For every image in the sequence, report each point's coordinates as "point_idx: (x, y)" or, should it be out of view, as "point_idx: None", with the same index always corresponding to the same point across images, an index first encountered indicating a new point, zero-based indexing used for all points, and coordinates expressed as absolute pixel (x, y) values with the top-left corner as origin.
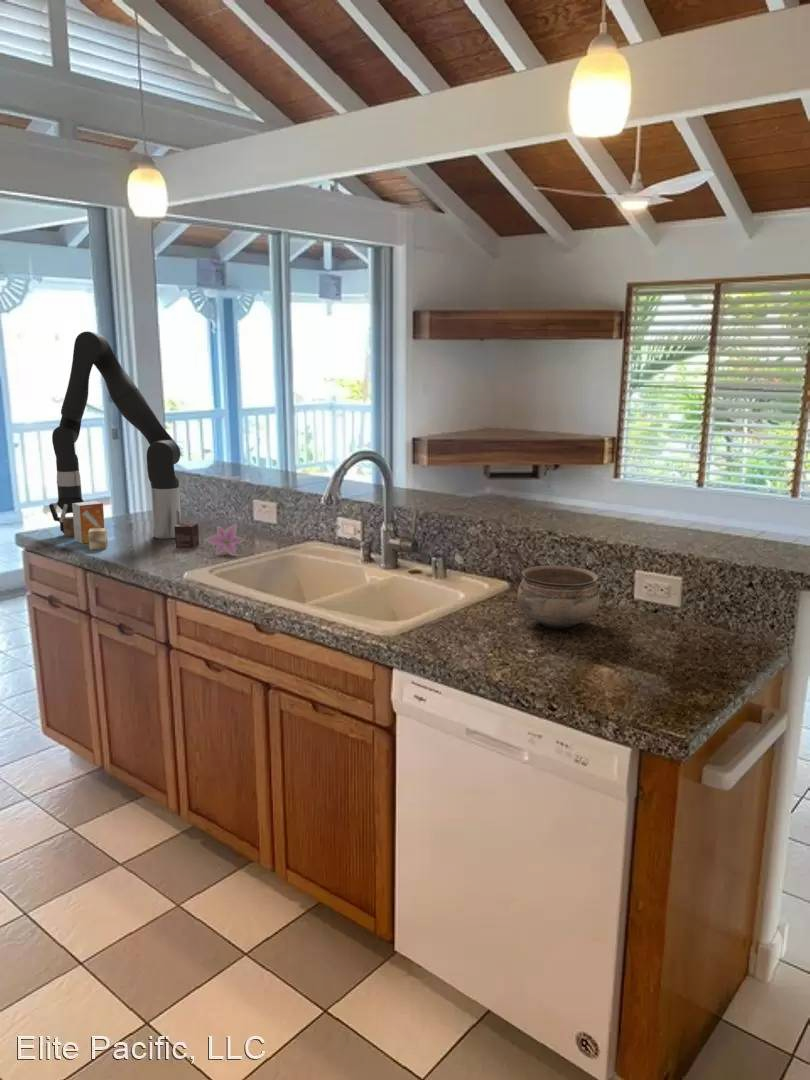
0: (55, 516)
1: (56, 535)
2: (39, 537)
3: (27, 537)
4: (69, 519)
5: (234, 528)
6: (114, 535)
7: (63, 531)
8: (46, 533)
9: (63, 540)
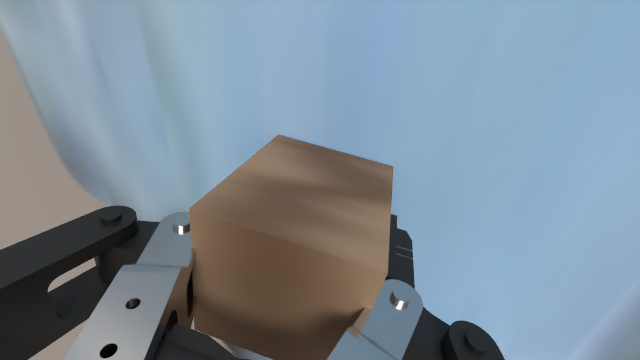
0: (98, 302)
1: (216, 158)
2: (131, 173)
3: (67, 141)
4: (254, 350)
5: None
6: (602, 342)
7: None
8: (133, 46)
9: None
